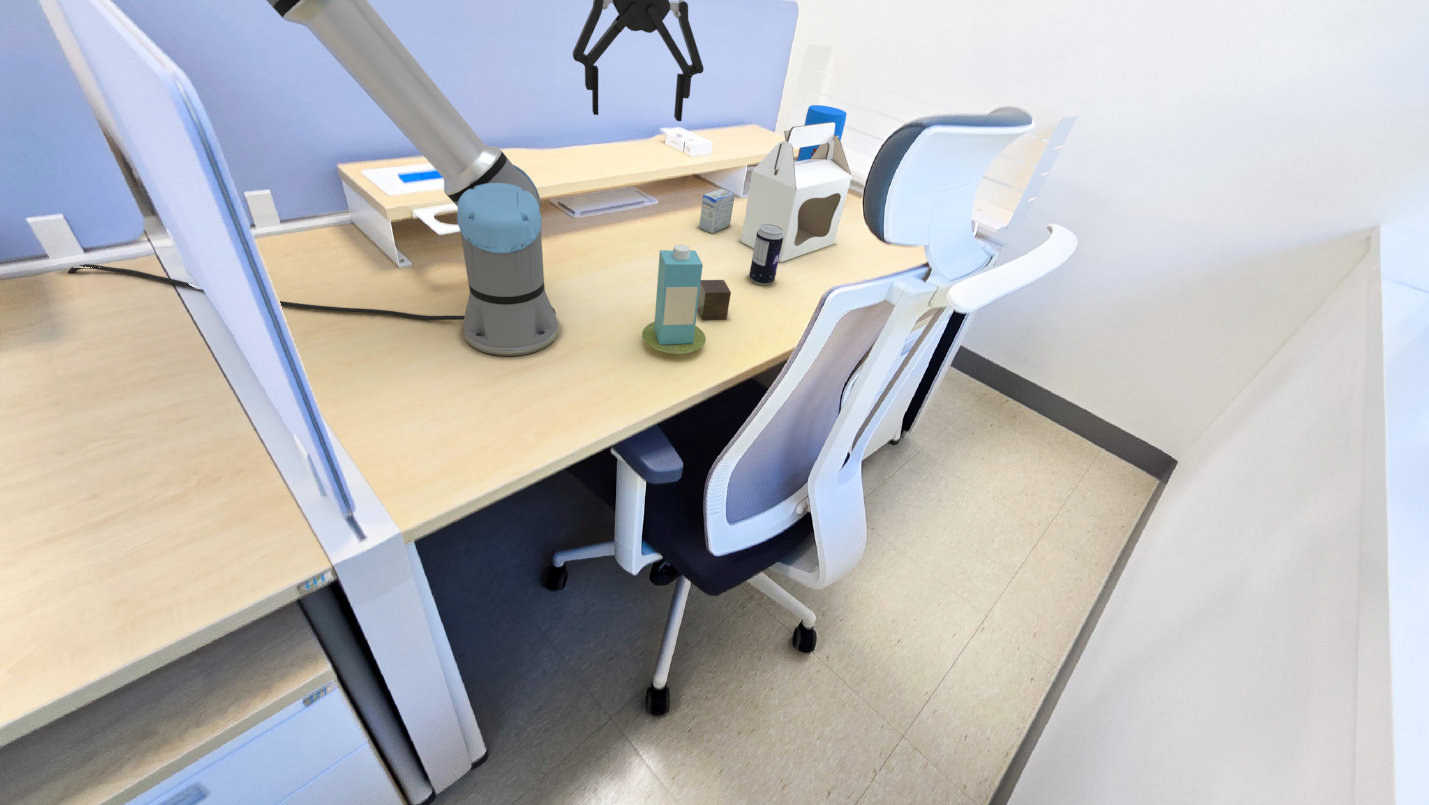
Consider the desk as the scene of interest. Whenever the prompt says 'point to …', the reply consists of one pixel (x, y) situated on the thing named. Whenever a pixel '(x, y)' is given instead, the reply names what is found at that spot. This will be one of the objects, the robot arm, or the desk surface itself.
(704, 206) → the medicine box
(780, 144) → the gable box
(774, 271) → the beverage can
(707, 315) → the walnut block
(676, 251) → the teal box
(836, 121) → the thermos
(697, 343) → the green disc
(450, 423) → the desk surface
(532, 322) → the robot arm
